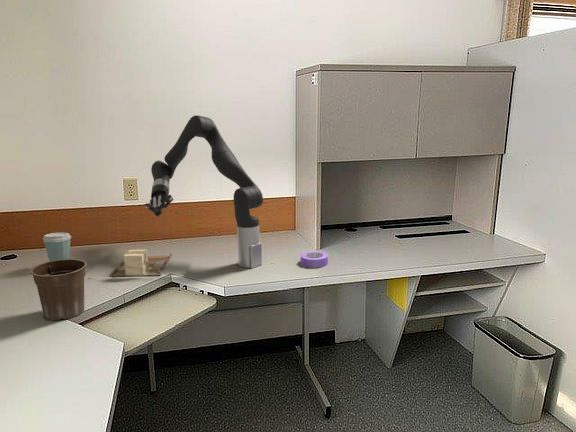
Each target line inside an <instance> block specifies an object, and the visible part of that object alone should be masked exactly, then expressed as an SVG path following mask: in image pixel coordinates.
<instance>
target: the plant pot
mask: <svg viewBox="0 0 576 432" xmlns="http://www.w3.org/2000/svg"><path fill="white" fill-rule="evenodd" d="M86 267H87V262H86V261H84V260H83V259H82V260H81V259H78V258H69V259H62V260H54V261H47V262H42V263H40V264H38V265H34V266H33V267H32V268H31V269H30V275H32V277H33V281H34V284H35V285H36V289H37V293H38V296H39V302H40V306H41V309H42V310H41V311H42V313H43V317H44V318H45V319H46V320H49V321H60V320H62V319H64V320H70V319H72V318H75V317H78V316H80V315H82V314H83V312H84V311H85V277H86Z"/></svg>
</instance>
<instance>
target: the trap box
mask: <svg viewBox="0 0 576 432" xmlns="http://www.w3.org/2000/svg"><path fill="white" fill-rule="evenodd" d="M172 256H173V253H169V255H165V254H164V255H148V264H149V268H148V270H147V271H146V272H145V274H144V275H126V272H125V267H122V266H124V265H125V263H124V259H123V260H122V261H121V262H120V263H119V264H118V265H117V266H116V267H115V269H113V270H112V272H111V278H142V277H143V278H145V277H161V276H162V274H161V273H162V271H163V270H164V268H165V267H166V265H167V263H168V262H169V261H170V259H171V258H172ZM156 262H163V263H162V265H161V266H154V265H155V264H156Z"/></svg>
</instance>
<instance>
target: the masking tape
mask: <svg viewBox="0 0 576 432" xmlns="http://www.w3.org/2000/svg"><path fill="white" fill-rule="evenodd" d="M300 265H301V266H303V267H306V268H315V269H317V268H323V267H326V266H328V265H329V255H328V253H327V252H324V251H320V250H310V251H305V252H302V253H301V254H300Z"/></svg>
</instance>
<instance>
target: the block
mask: <svg viewBox="0 0 576 432" xmlns="http://www.w3.org/2000/svg"><path fill="white" fill-rule="evenodd" d="M148 253H149V252H148V249H146V248H145V249H129V250H128V251H127V252H126V253H125V254H124V255H123V260H124V268H125V272H126V274H125V275H146V274H145V272H146V271H147V270H148V268H149V264H148V256H149V255H148Z"/></svg>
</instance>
